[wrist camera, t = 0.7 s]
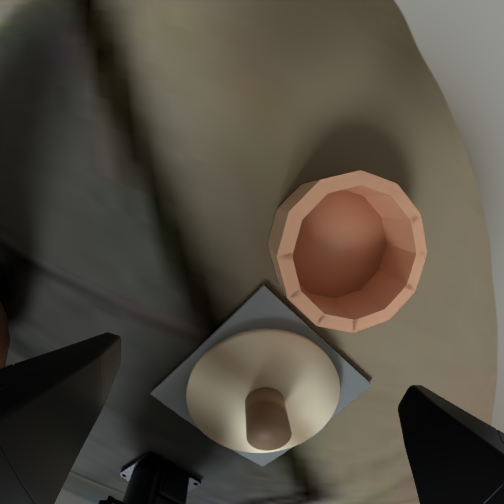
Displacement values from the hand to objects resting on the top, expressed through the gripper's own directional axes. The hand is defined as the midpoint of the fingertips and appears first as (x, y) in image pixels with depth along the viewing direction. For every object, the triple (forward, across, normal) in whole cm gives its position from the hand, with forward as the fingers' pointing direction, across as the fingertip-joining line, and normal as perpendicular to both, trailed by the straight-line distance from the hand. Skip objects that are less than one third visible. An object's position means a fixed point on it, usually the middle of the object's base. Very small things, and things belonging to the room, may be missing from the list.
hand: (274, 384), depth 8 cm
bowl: (+14, -5, -2) cm, 15 cm away
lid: (+12, -3, +11) cm, 17 cm away
